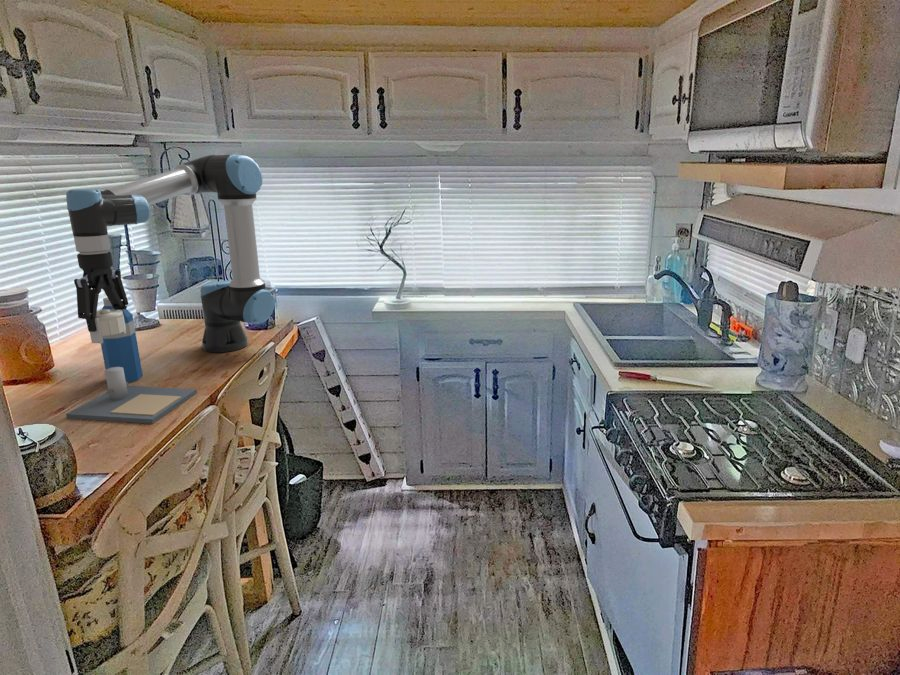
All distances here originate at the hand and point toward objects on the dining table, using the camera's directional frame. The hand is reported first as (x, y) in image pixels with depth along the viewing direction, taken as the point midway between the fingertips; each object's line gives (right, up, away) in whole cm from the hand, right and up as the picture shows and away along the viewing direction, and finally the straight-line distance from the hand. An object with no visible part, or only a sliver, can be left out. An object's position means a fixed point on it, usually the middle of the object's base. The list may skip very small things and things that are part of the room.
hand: (109, 337), depth 153 cm
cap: (0, +2, 0) cm, 2 cm away
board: (+5, -18, +3) cm, 19 cm away
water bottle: (-8, -13, +22) cm, 27 cm away
